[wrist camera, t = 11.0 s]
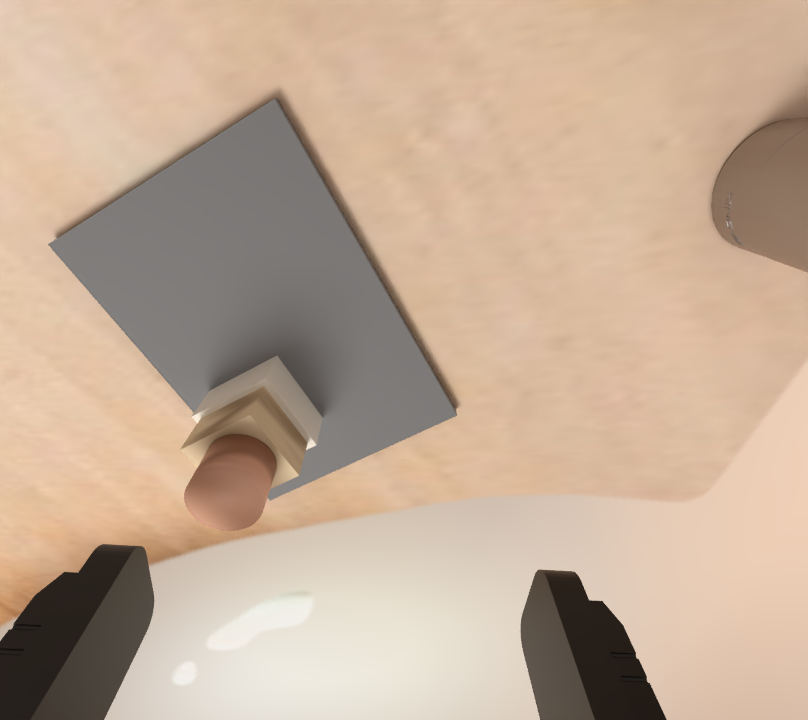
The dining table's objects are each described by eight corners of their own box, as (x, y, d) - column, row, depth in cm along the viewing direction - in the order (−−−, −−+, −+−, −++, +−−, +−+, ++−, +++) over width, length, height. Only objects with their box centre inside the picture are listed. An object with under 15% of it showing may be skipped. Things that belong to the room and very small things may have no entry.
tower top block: (263, 386, 36) (249, 414, 33) (307, 443, 39) (299, 475, 35) (200, 418, 38) (180, 450, 34) (246, 472, 40) (232, 506, 36)
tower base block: (277, 355, 40) (265, 378, 36) (322, 417, 42) (316, 445, 39) (208, 391, 41) (191, 416, 37) (257, 449, 44) (245, 478, 40)
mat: (277, 99, 32) (274, 98, 32) (455, 409, 44) (456, 415, 43) (56, 241, 36) (48, 244, 35) (272, 493, 47) (269, 500, 46)
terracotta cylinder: (248, 422, 33) (231, 459, 29) (290, 473, 35) (278, 513, 31) (191, 451, 34) (167, 490, 30) (234, 499, 36) (217, 540, 32)
